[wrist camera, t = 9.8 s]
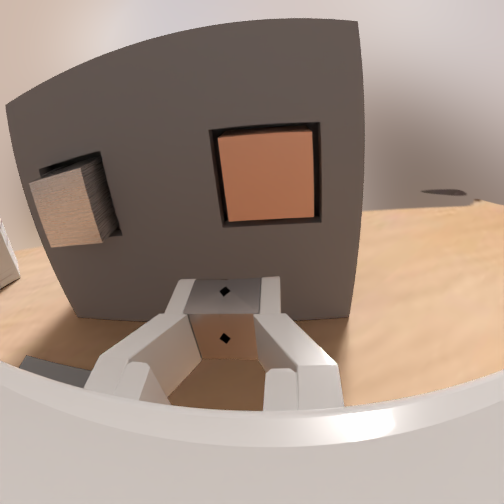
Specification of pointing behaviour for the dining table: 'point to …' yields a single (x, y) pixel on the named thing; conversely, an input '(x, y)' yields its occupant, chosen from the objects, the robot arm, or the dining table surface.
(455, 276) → the dining table surface
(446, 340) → the dining table surface
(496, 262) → the dining table surface
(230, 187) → the button terracotta
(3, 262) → the supplement box
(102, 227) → the grey button
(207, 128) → the panel
